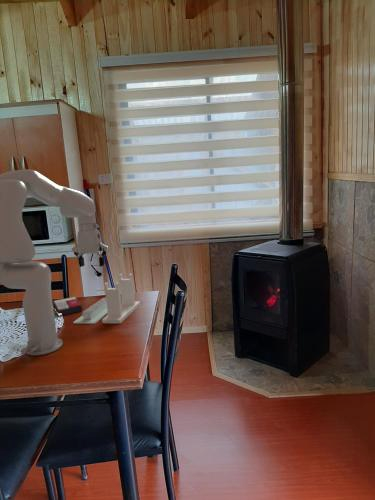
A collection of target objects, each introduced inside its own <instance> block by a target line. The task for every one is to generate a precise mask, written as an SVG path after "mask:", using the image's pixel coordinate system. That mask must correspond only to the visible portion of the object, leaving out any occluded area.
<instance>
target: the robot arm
mask: <svg viewBox="0 0 375 500" xmlns="http://www.w3.org/2000/svg"><path fill="white" fill-rule="evenodd" d="M28 196H29V197H32V198H34V199H35V200H37V201H39V202H41V203H43V204H44V205H47V206H51V207H55V208H56V207H57V208H59V212H60V214H61V215H62V216H63V217H65V218H69V219H70V218H71V219H72V218H77V224H78V225H77V226H78V231H77V237H76V240H77V241H76V243H77V244H76V245H74V246H73V247H72V248H71V251H72V252H73V254H74V255H75V256H76V258H77V259H78V261H77V262H78V265H79V268H82V267H84V266H85V259H84V254H85V255H89V254H97V255H98V262H99V263H98V264H99V267H104V266H105V263H106V261H105V256H106V255H107V253H108V250H109V249H110V248H109V246H108V245H106V244H104V243H103V241H102V237H101V233H100V230H99V229H98V228H99V227H100V224H97V223H98V222H97V219H96V205H95V202H94V199H92V198H91V197H89V196H88V195H87V194H85V193H83V192H81V191H79V190H76V189H73V188H69V187H66V186H63V185H59V184H57V183H55V182H54V181H52V180H51V179H49V178H48V177H46V176H45V175H43V174H41V173H40V172H38V171H37V170H34V169H28V168H27V169H19V170H18V169H17V170H10V171H7V172H4V173H3V172H2V173H1V174H0V283H1V284H2V285H3V287H6V288H7V289H14V290H17V289H19V290H25V293H24V295H23V298H22V310H23V314H24V316H23V317H24V320H25V327H26V333H27V339H28V340H27V341H26V346H25V347H23V348H22V349H20V354H22V355H26V354H27V355H29V356H42V355H43V356H44V355H47V354H50V353H53V352H56V351H57V350H59V349H60V348H61V347H62V346H63V344H64V343H63V342H64V341H63V340H62V339H61V338H59V337H58V334H57V326H56V325H57V324H56V320H55V310H54V306H53V298H52V286H51V284H52V271H51V268H50V266H49V265H48V264H46V263H44V262H43V261H36V260H35V261H34V260H33V259H34V258H35V256H36V249H35V244H34V242H33V241H32V239H31V235H30V234H29V232H28V230H27V228H26V226H25V223H24V221H23V210H24V207H25V203H26V201H27V197H28ZM32 260H33V261H32Z"/></svg>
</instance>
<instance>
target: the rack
mask: <svg viewBox="0 0 375 500" xmlns="http://www.w3.org/2000/svg"><path fill="white" fill-rule="evenodd" d="M118 278H119V279H118V280H119V281H118V282H116V283H115V287H109V282H105V283H104V293H105V297H106V303H107V311H108V314H107V315H105V316H104V317H103V318H102V319H101V322H102V324H121V323H122V322H123V321H125V320H126V319H127V318H128V317H129V316H130V315H131V314H132V313H133V312H134V311H135V310H137V308H139V306H140V304H141V301H139V300H138V301H137V300H136V297H135V295H136V294H135V286H134V278H133V273H129V274H128V278H124V277H123V273H120V274H118Z"/></svg>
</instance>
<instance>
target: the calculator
mask: <svg viewBox="0 0 375 500" xmlns="http://www.w3.org/2000/svg"><path fill="white" fill-rule="evenodd" d="M52 305H53V309H54V308H55V309H56V311H57V312H58V313H62V315H63V316H68V315H70V314H71V315H72V314H76V313H77V314H78V313H80V312H82V313H83V311H84V309H83V305H82V304H81V303H80V301H79V299H78V298H77V297H76V296H72V297H67V298H62V299H57V300H54V301H52ZM55 309H54V310H55ZM56 311H55V312H56Z"/></svg>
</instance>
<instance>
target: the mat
mask: <svg viewBox="0 0 375 500" xmlns="http://www.w3.org/2000/svg"><path fill="white" fill-rule="evenodd" d="M107 315H108V311H107V308H106V309H105V310H103V311H102V312H101V313H99V314H98V315H97V316H95V317H94V318H93V319H91V320H83V315H81V316H80V317H78V318H77V319H75V320H74V321H73V322H72V324H73V325H74V324H75V325H76V324H80V325H83V324H84V325H85V324H86V325H96V324H97V323H98V322H99V321H100V320H102V319H104V318H105V317H106V316H107Z"/></svg>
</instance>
